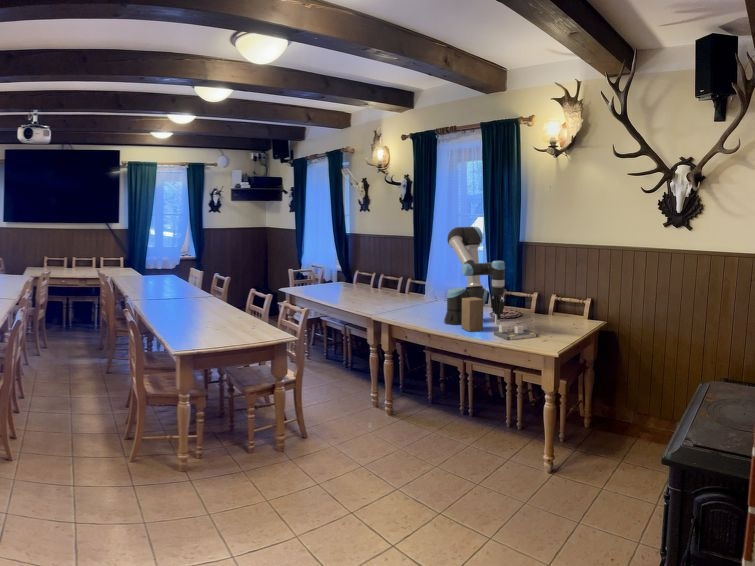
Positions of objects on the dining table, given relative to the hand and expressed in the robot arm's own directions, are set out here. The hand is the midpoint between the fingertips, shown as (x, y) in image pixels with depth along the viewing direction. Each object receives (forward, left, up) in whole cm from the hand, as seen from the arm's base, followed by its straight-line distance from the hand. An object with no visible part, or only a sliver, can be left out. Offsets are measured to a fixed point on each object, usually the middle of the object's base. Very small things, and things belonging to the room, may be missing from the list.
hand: (497, 324), depth 314 cm
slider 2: (+12, +7, -3) cm, 14 cm away
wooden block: (-15, -9, -6) cm, 18 cm away
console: (+9, +7, -6) cm, 13 cm away
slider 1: (+6, 0, -3) cm, 7 cm away
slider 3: (+6, +14, -3) cm, 16 cm away
